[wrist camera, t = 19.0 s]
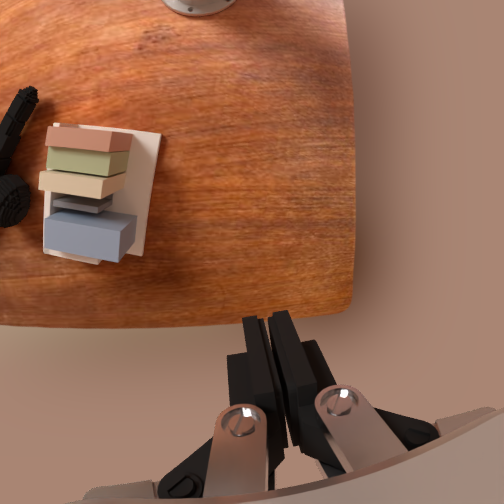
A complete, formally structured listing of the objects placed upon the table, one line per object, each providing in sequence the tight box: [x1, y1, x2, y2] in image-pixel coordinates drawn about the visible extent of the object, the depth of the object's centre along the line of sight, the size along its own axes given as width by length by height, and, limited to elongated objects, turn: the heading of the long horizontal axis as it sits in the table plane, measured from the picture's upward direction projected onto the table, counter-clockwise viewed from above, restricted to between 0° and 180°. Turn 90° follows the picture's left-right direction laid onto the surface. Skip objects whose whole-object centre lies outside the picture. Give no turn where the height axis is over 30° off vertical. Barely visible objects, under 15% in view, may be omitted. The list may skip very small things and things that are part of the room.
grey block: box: [44, 208, 137, 262], centre depth 38 cm, size 4×11×8 cm, turn 78°
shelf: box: [38, 123, 162, 265], centre depth 37 cm, size 18×14×10 cm
